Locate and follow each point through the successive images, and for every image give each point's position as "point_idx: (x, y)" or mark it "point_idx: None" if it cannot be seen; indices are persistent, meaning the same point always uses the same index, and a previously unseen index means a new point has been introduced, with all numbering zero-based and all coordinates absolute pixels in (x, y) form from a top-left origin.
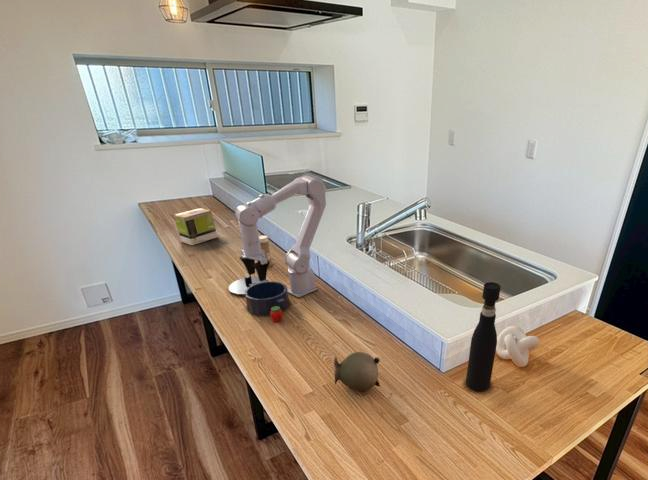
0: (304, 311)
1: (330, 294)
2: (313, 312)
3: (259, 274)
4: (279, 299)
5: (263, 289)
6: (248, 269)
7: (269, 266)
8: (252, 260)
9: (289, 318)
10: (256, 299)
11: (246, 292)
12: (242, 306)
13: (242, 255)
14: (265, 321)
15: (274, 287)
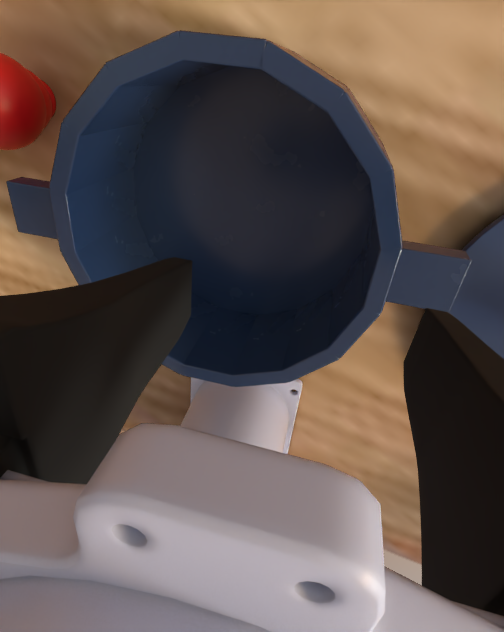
0: (56, 271)
1: (122, 430)
2: (24, 285)
3: (100, 284)
4: (42, 213)
5: (349, 295)
6: (447, 351)
7: None
8: (438, 517)
9: (34, 172)
10: (110, 64)
11: (322, 102)
12: (407, 74)
13: (338, 593)
14: (84, 40)
15: (286, 345)
